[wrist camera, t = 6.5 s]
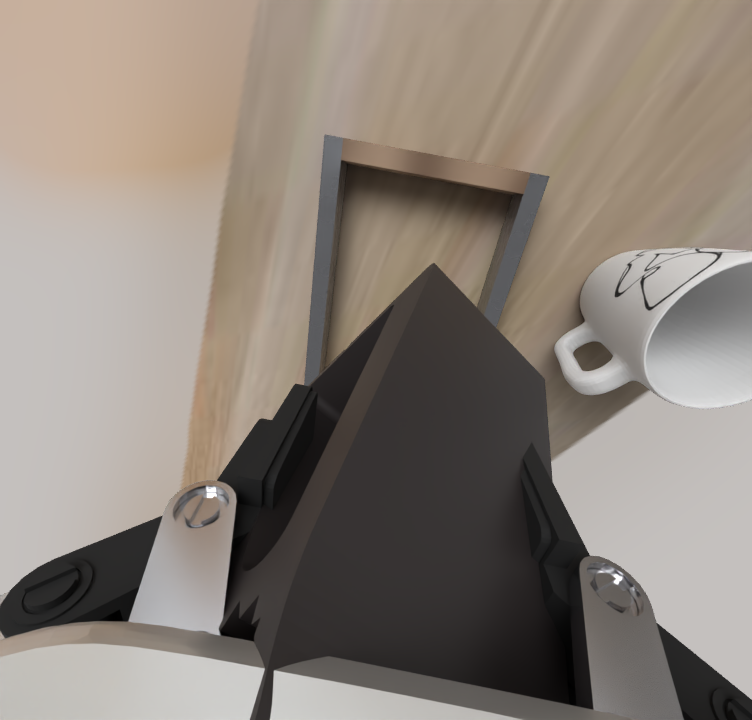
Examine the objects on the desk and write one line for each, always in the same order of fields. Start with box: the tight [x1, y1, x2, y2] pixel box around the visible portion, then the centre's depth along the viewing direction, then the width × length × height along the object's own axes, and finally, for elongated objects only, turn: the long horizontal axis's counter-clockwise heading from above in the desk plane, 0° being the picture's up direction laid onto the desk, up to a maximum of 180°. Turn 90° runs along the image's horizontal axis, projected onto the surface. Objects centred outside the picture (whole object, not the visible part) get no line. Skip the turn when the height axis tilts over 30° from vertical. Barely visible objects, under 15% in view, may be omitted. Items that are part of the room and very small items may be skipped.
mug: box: [554, 248, 752, 409], centre depth 22 cm, size 11×8×10 cm
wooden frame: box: [304, 135, 549, 386], centre depth 26 cm, size 14×20×2 cm
